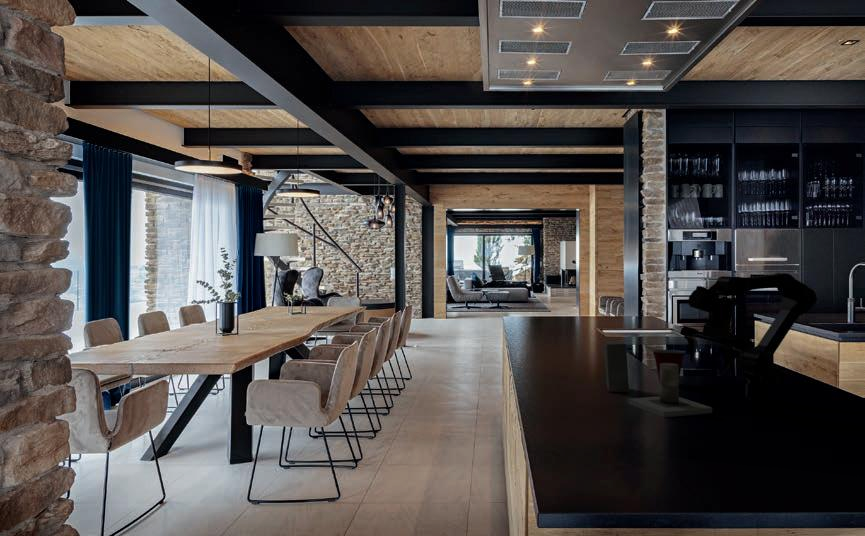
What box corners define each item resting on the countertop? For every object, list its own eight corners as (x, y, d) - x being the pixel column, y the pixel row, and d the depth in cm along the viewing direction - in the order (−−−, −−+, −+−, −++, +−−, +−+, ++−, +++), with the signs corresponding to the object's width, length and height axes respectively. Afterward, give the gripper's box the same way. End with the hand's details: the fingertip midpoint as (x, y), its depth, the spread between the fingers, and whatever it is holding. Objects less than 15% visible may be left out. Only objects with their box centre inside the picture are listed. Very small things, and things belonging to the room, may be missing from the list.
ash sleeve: (681, 402, 169) (681, 364, 169) (673, 405, 166) (673, 366, 166) (665, 399, 173) (665, 362, 173) (656, 402, 170) (656, 364, 170)
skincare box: (629, 393, 189) (629, 344, 189) (606, 392, 191) (606, 343, 191) (626, 387, 198) (626, 340, 198) (604, 386, 199) (604, 340, 199)
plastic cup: (685, 382, 206) (685, 348, 206) (686, 388, 196) (686, 352, 196) (652, 380, 210) (652, 346, 210) (651, 386, 200) (651, 351, 200)
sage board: (673, 400, 180) (673, 394, 179) (712, 413, 164) (712, 406, 164) (628, 403, 175) (628, 398, 175) (663, 417, 160) (663, 411, 160)
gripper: (682, 305, 175) (669, 355, 175) (751, 321, 164) (737, 374, 163) (691, 310, 184) (678, 358, 183) (756, 326, 173) (743, 377, 172)
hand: (707, 366), depth 175 cm, fingers open, 9 cm apart
